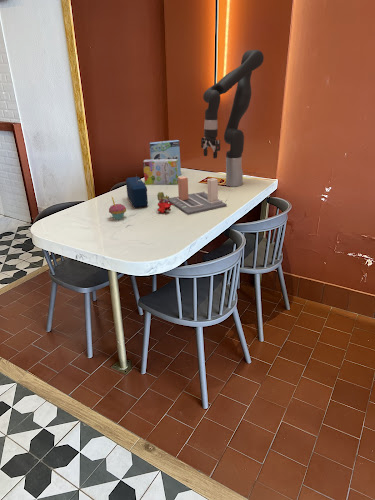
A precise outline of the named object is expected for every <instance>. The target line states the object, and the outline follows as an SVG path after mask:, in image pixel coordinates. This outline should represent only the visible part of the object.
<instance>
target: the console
mask: <svg viewBox="0 0 375 500" xmlns="http://www.w3.org/2000/svg"><path fill="white" fill-rule="evenodd" d="M188 198H189V199H187V200H180V199H179V195H178V196H173V197H169V202H168V203H170V202H171V204H174V205H173V206H174V207H175V208H177V209H178V210H180V211H181V212H182V213H185V214H186V215H187V216H189V215H194V214H200V213H203V212H207V211H211V210H216V209H221V208H225V207H228V206H227V203H225V202H224V201H223V200H221V199H219V198H218V201H215V202H209V201H208V192H206V191H198V192H193V193H188Z"/></svg>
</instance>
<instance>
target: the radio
mask: <svg viewBox="0 0 375 500" xmlns="http://www.w3.org/2000/svg"><path fill="white" fill-rule="evenodd" d="M125 186H126V194H127V199H128V200H129V202H130V204H131V205H132V206H133V208H134V209H137V208H142V207H147V206H148V204H149V203H148V202H149V201H148V188H147V185H145V182H144V181H142V179H141V178H140V177H139V176H137V175H136V176H133V177H127V178H126V179H125Z"/></svg>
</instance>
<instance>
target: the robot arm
mask: <svg viewBox="0 0 375 500" xmlns="http://www.w3.org/2000/svg"><path fill="white" fill-rule="evenodd" d="M264 59H265V57H264V53H263V52H262V50H259V49H249V50H246V51H245V52H244V53H243V55H242V57H241V63H240V65H239V66H238V67H236V68H235V69H233V70H232V71H230V72H227V73H226V74H225V75H224V76H223V77H222V78H221V79H220V80H219V81H217V82H216V83H215V84H213V85H212V86H210V87H208V88H207V89H206V90H205V91H204V93H203V95H202V96H203V97H202V99H203V101H204V102H205V103H206V104H207V105H208V106H207V108H206V109H205V110H204V123H203V124H204V125H203V126H204V127H203V130H204V131H203V136H204V137H201V140H200V143H201V144H200V148H201V149H203V156H204V157H207V156H208V148H209V147H210V148H211V149H212V152H213V153H212V157H213V159H214V160H215V159H217V158H218V152H220V151H221V140H220V139H217V137H218V132H219V131H218V130H219V129H218V128H219V127H218V125H219V124H218V113H219V112H218V111H219V108H220V104H221V95H224V94H226V93H227V92H228V91H230V90H231V89H232V88H233V87H234V86H235V85H236V90H235V93H234V98H233V103H232V107H231V111H230V115H229V118H228V121H227V125H226V128H225V130H224V135H223V140H224V142H225V144H227V145H229V148H230V149H229V150H227V151H226V152H225V157H226V158H225V185H226V187H227V186H228V187H239V186H242V185H243V181H244V180H243V174H244V173H243V172H244V170H243V168H242V165H243V164H242V163H243V161H242V160H243V159H242V158H243V157H242V156H243V152H244V145H245V135H244V132H243V130H242V129H239V125H240V122H241V119H242V118H243V116H244V115H245V113H246V112H247V110H248V109H249V107H250V103H251V99H252V84H251V79H252V73H253V71H255V70H256V69H258V68H259V67H261V66H262V65H263V63H264Z"/></svg>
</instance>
